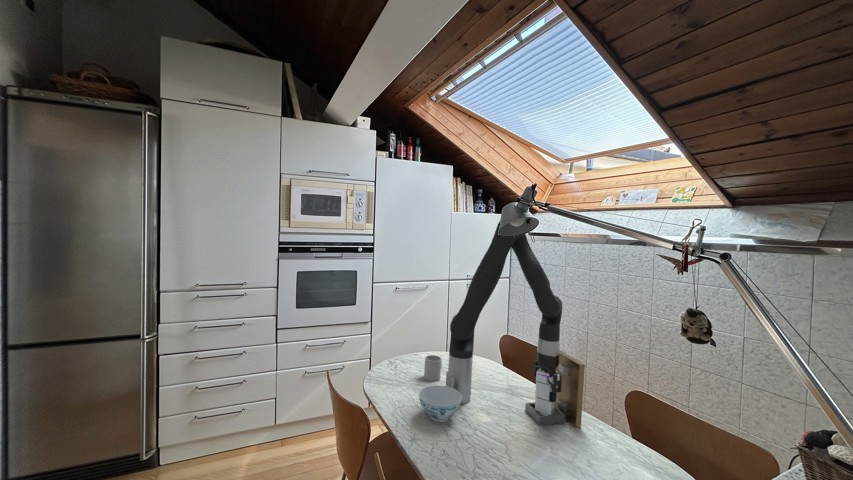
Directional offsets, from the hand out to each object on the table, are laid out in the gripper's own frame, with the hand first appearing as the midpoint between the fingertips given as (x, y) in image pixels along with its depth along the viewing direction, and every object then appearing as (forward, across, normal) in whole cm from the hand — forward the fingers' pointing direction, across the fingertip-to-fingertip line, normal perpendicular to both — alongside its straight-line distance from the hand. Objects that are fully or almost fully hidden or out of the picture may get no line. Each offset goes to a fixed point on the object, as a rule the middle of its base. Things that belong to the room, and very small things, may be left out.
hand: (545, 395), depth 122 cm
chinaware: (+8, -5, -38) cm, 39 cm away
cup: (+8, -37, -32) cm, 50 cm away
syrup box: (+5, 0, 0) cm, 5 cm away
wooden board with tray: (+8, 0, +2) cm, 8 cm away
